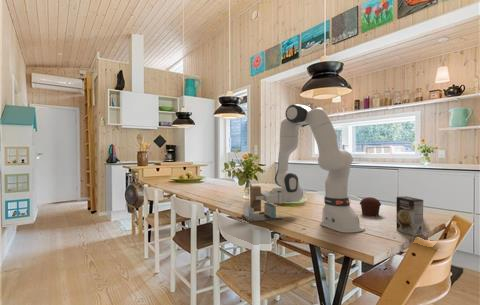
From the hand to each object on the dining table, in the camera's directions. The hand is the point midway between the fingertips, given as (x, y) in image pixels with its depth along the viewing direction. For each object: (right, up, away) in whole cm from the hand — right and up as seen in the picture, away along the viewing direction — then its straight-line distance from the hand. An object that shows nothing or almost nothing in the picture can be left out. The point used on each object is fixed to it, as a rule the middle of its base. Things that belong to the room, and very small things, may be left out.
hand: (254, 196), depth 155 cm
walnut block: (+1, -8, 0) cm, 8 cm away
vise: (+4, -12, +1) cm, 13 cm away
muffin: (+69, -11, +3) cm, 70 cm away
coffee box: (+71, -12, -30) cm, 78 cm away
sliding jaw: (+9, -11, +2) cm, 15 cm away
